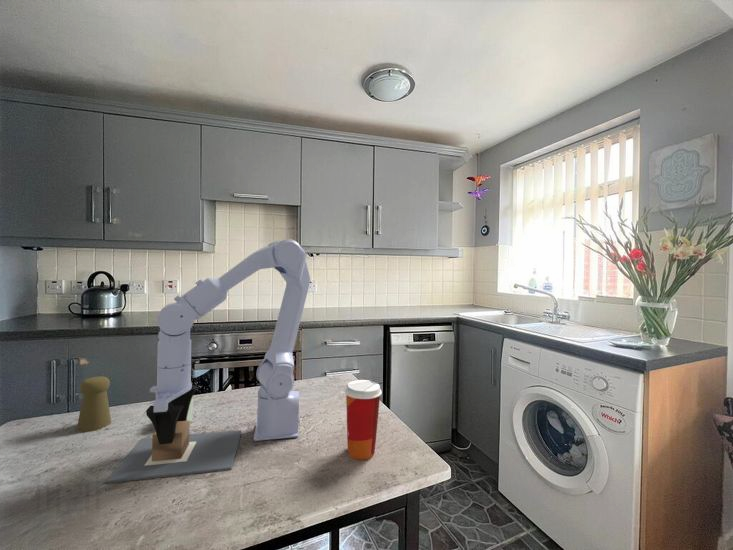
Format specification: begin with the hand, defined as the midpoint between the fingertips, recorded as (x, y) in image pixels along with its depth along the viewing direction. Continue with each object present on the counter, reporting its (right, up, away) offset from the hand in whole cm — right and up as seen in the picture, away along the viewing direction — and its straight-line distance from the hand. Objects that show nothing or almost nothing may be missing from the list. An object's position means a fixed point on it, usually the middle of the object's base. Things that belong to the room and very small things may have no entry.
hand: (173, 432), depth 63 cm
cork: (-24, -4, +10) cm, 27 cm away
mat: (+2, -5, 0) cm, 5 cm away
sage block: (-7, -4, +13) cm, 15 cm away
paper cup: (+37, -6, +3) cm, 38 cm away
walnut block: (0, -4, 0) cm, 4 cm away
